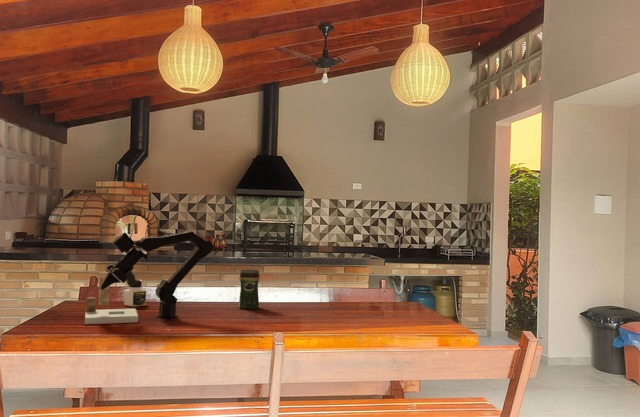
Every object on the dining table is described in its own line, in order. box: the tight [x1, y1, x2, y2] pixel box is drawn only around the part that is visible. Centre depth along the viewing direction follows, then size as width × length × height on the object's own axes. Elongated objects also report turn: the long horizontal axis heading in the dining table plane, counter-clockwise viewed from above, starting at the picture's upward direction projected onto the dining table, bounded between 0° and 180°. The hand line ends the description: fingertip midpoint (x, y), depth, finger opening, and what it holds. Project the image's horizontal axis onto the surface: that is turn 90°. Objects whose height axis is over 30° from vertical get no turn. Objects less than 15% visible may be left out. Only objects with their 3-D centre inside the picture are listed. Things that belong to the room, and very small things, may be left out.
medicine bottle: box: [123, 278, 147, 308], centre depth 266 cm, size 7×7×12 cm
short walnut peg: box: [85, 296, 97, 313], centre depth 235 cm, size 4×4×6 cm
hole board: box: [84, 308, 139, 325], centre depth 233 cm, size 20×17×2 cm
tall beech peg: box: [97, 271, 111, 306], centre depth 228 cm, size 4×4×13 cm
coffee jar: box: [238, 268, 260, 310], centre depth 269 cm, size 10×8×19 cm
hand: (100, 288), depth 227 cm, fingers closed on tall beech peg, 4 cm apart
